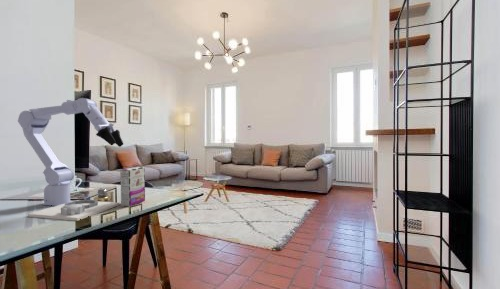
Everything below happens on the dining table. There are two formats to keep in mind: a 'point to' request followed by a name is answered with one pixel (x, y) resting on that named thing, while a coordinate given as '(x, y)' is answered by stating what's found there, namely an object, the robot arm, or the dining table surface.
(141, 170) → the candy bar box
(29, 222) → the dining table surface
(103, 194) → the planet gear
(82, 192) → the dining table surface
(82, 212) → the carrier plate
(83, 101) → the robot arm
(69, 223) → the dining table surface
